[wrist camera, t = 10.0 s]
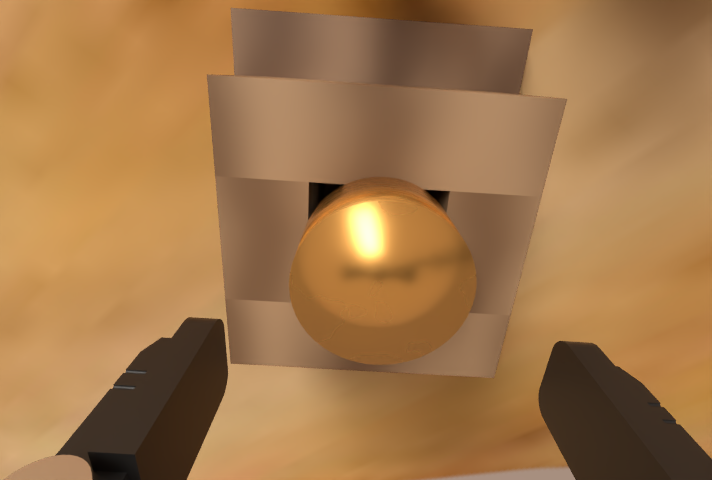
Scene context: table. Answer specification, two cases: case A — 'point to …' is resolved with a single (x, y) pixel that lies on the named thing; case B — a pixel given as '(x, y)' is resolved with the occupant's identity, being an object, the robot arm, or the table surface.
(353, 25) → the hitch block
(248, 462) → the table surface
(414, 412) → the table surface
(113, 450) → the robot arm
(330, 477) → the table surface
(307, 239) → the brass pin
